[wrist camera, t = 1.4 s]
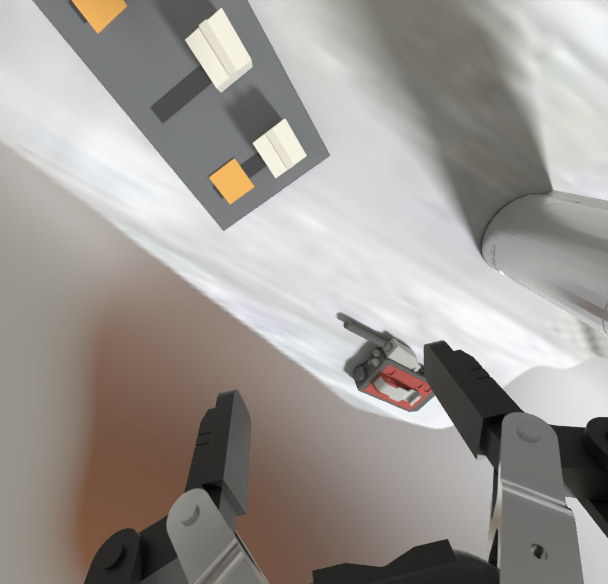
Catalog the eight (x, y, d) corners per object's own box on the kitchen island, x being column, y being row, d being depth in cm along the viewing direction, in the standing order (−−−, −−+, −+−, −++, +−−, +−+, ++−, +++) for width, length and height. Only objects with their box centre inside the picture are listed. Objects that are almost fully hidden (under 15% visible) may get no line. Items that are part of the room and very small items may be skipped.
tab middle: (226, 21, 20) (221, 5, 18) (252, 66, 22) (251, 58, 19) (193, 49, 21) (183, 38, 18) (221, 92, 22) (215, 87, 20)
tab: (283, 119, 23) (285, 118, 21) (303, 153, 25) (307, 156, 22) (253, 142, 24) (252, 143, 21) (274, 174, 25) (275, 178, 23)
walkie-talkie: (447, 366, 44) (347, 311, 37) (464, 388, 40) (356, 331, 33) (408, 402, 47) (308, 357, 40) (421, 425, 43) (313, 381, 36)
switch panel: (165, -143, 18) (154, -174, 16) (326, 154, 27) (330, 155, 25) (35, -9, 20) (12, -23, 18) (226, 225, 29) (223, 231, 28)
